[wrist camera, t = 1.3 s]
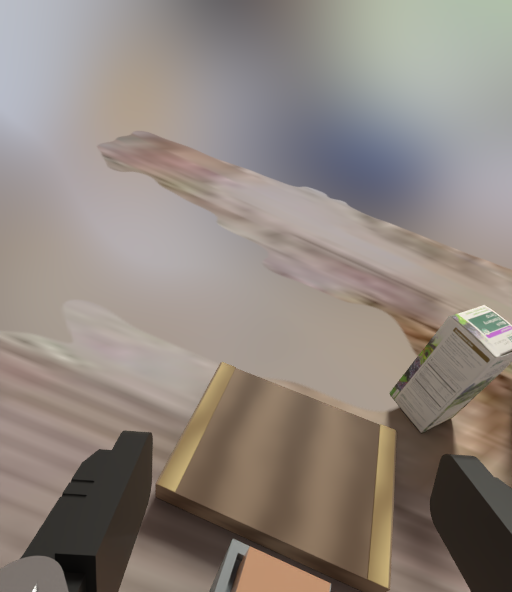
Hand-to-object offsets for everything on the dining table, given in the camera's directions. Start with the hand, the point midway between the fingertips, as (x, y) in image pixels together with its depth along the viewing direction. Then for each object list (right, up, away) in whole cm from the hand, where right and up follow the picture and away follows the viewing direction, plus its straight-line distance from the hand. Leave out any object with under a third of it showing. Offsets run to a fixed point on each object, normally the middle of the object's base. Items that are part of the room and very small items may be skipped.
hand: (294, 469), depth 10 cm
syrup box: (+19, -9, +35) cm, 41 cm away
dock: (+2, -12, +27) cm, 29 cm away
